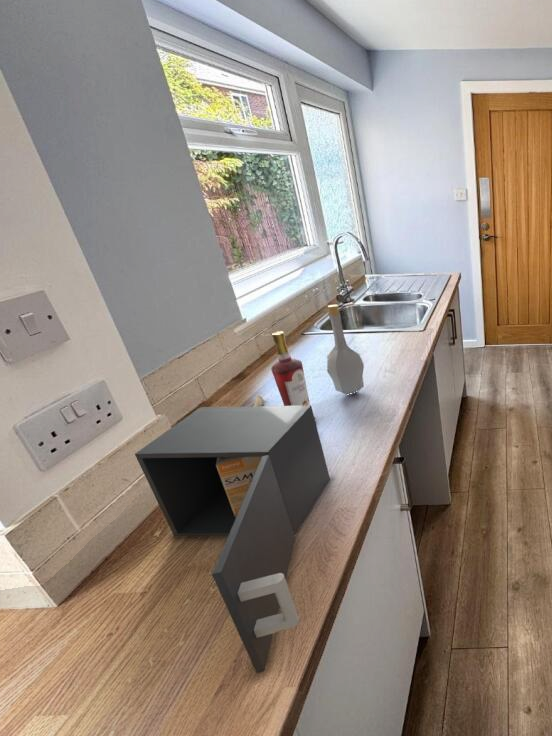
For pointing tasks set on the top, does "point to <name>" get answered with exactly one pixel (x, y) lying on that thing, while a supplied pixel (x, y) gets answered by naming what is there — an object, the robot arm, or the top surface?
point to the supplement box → (237, 477)
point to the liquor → (289, 375)
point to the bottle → (343, 359)
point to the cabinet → (233, 439)
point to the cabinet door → (258, 566)
